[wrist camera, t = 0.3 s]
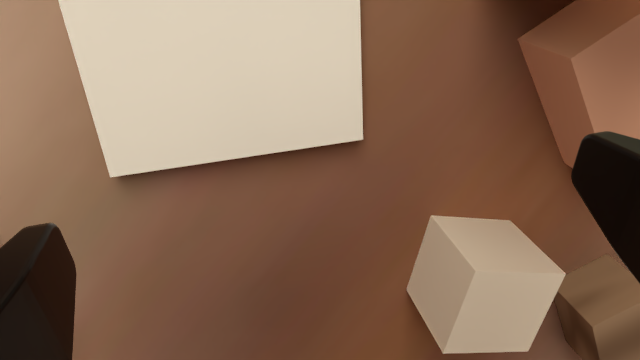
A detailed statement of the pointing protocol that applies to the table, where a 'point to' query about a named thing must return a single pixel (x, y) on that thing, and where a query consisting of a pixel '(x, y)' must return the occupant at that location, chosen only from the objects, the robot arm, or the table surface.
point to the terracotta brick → (587, 70)
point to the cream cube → (482, 285)
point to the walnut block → (601, 311)
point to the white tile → (216, 77)
